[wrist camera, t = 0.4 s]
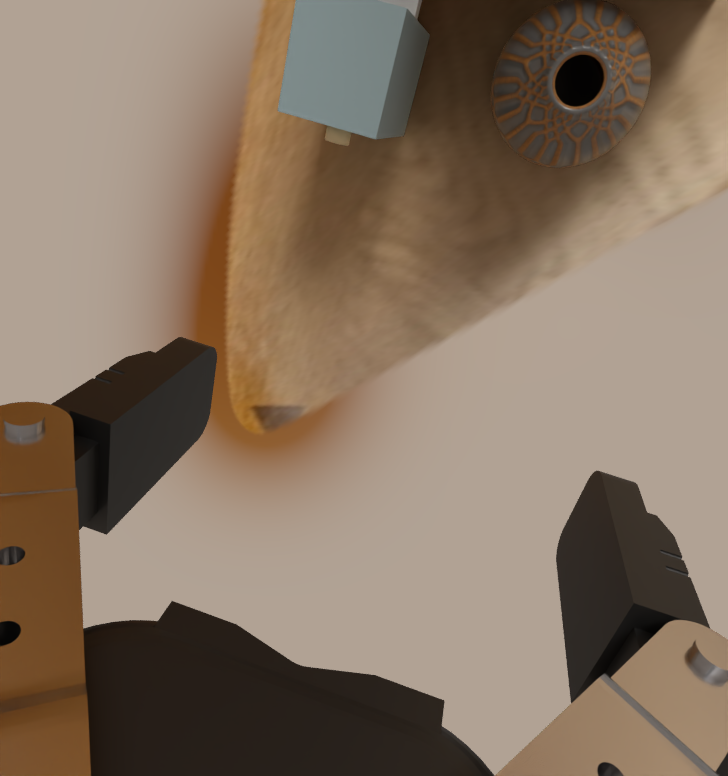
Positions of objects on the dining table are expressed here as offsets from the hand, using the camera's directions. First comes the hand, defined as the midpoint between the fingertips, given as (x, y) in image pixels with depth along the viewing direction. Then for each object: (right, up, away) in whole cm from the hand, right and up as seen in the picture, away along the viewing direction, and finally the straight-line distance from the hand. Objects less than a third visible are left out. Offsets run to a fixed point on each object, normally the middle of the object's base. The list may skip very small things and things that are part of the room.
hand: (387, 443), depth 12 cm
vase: (+10, +17, +18) cm, 27 cm away
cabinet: (+1, +19, +19) cm, 27 cm away
